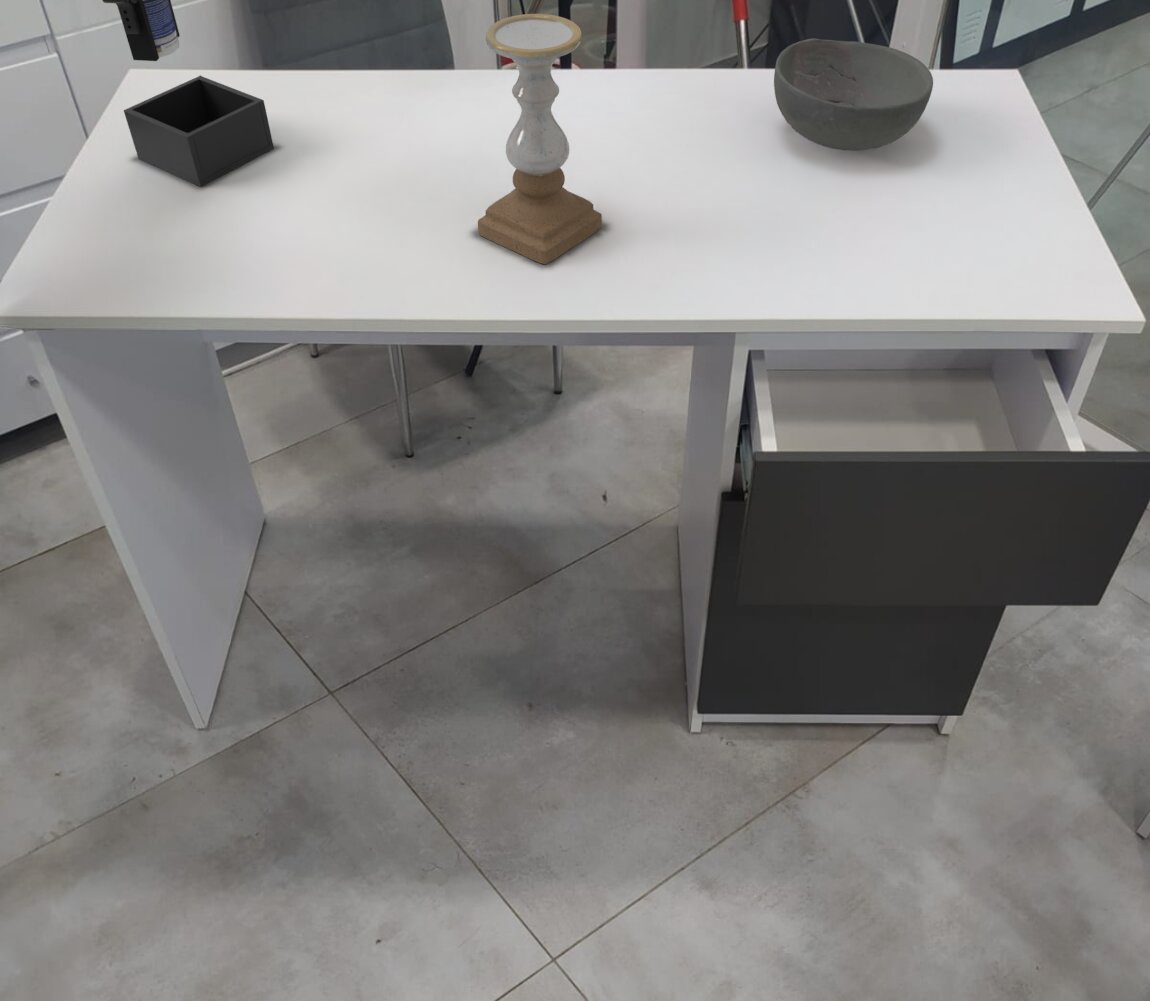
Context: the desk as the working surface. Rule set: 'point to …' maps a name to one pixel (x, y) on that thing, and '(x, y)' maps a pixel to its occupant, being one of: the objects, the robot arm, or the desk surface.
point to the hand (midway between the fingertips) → (156, 47)
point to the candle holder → (537, 146)
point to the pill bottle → (162, 26)
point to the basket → (199, 130)
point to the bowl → (850, 92)
